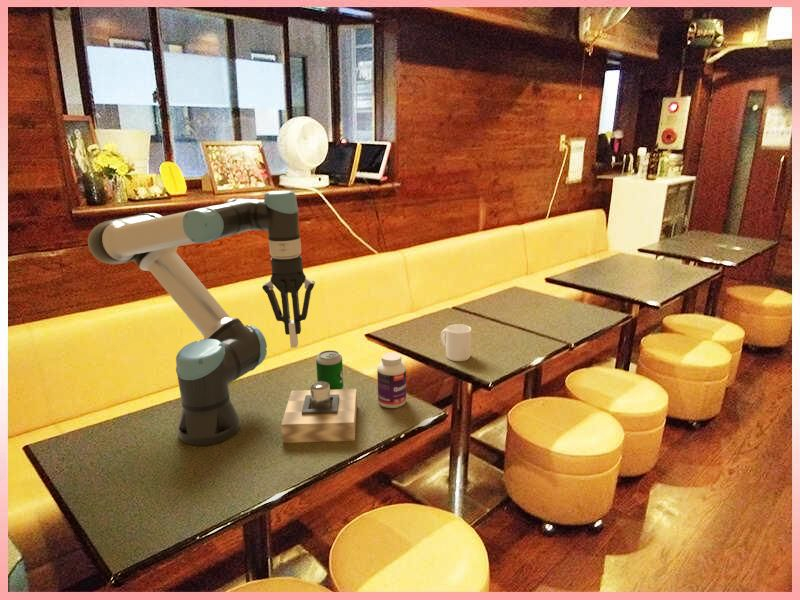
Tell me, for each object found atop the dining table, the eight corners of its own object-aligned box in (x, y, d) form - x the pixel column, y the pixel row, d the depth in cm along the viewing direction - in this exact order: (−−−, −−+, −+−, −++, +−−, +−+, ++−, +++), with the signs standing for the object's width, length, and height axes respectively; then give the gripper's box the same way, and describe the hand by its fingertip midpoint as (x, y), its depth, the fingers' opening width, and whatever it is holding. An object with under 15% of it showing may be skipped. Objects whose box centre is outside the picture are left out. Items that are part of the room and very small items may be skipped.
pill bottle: (396, 412, 154) (395, 364, 150) (372, 405, 158) (371, 358, 154) (411, 400, 161) (411, 354, 156) (388, 393, 165) (387, 348, 160)
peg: (310, 410, 145) (309, 390, 143) (312, 400, 150) (311, 381, 148) (329, 409, 145) (328, 390, 144) (331, 400, 150) (330, 381, 148)
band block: (282, 442, 140) (281, 421, 139) (292, 407, 158) (291, 388, 156) (354, 440, 141) (353, 419, 139) (356, 405, 158) (356, 386, 156)
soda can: (339, 398, 162) (337, 360, 158) (314, 396, 164) (312, 358, 160) (346, 386, 169) (345, 350, 165) (322, 384, 171) (320, 348, 167)
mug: (432, 353, 192) (433, 325, 189) (448, 347, 198) (449, 319, 194) (459, 364, 184) (460, 335, 181) (475, 357, 189) (476, 328, 186)
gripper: (255, 260, 133) (266, 352, 140) (311, 258, 133) (318, 350, 140) (262, 253, 140) (271, 341, 147) (314, 251, 140) (321, 339, 147)
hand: (294, 345), depth 143 cm, fingers closed
